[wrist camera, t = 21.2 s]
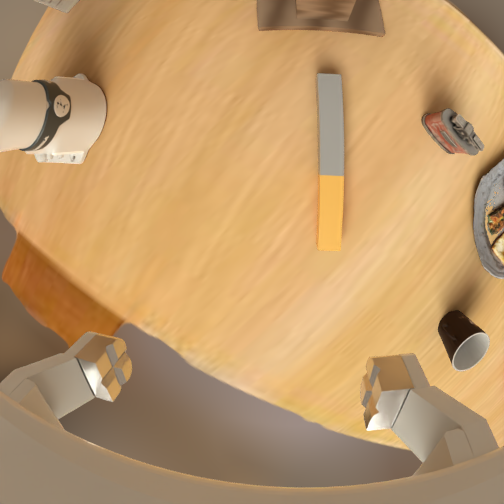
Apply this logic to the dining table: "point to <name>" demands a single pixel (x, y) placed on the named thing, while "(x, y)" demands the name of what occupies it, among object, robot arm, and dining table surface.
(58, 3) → the supplement box
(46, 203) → the dining table surface
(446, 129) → the lighter
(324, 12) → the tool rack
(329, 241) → the gray and orange bar
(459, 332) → the coffee mug
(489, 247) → the food plate
